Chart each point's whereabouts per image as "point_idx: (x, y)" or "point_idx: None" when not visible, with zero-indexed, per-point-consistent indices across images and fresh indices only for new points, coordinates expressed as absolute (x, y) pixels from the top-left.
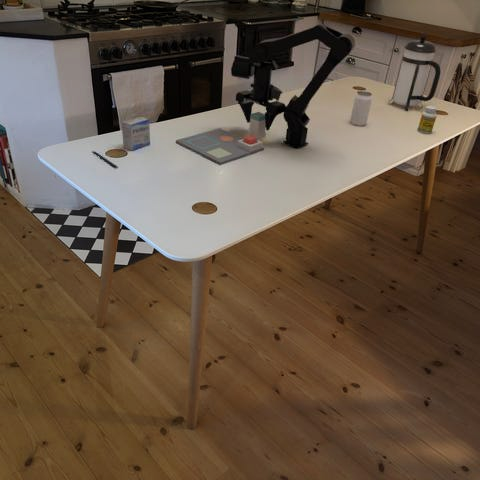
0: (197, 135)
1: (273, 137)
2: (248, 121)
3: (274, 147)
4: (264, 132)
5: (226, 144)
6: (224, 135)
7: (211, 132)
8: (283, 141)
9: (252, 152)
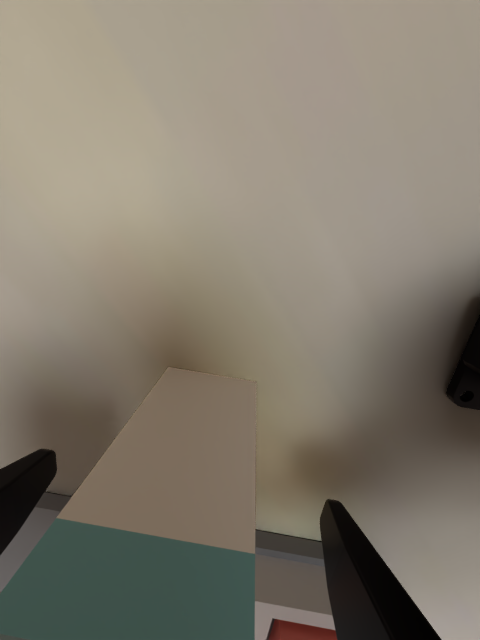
0: None
1: (317, 342)
2: (45, 483)
3: (416, 488)
4: (254, 412)
5: None
6: None
7: (8, 566)
8: (455, 398)
9: None
